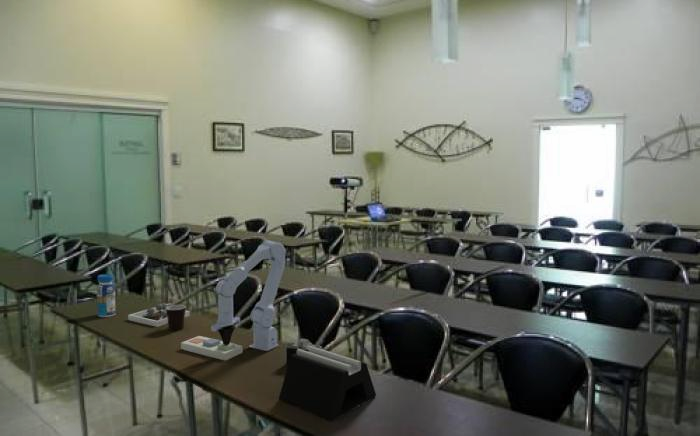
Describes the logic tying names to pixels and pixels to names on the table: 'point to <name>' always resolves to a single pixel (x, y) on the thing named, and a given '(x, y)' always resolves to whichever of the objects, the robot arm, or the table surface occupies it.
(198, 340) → the terracotta key
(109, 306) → the beverage bottle
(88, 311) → the table surface
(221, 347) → the sage key
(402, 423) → the table surface
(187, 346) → the keypad
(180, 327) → the coffee mug
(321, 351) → the device stand
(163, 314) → the molecule model
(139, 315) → the display tray
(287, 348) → the camera
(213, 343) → the slate key
